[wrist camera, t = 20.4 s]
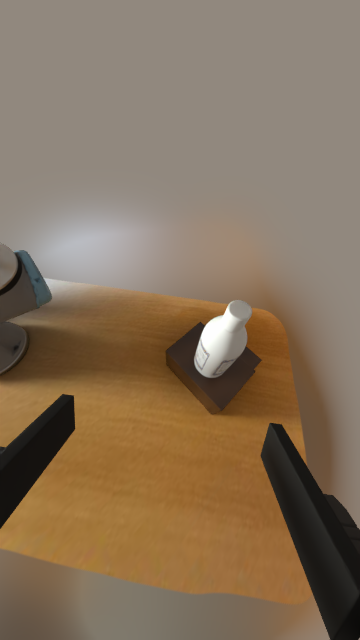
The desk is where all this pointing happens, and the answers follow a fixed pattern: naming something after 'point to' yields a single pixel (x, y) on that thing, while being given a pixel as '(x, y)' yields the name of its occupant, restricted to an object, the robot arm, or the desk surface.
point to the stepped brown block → (204, 388)
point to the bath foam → (223, 340)
